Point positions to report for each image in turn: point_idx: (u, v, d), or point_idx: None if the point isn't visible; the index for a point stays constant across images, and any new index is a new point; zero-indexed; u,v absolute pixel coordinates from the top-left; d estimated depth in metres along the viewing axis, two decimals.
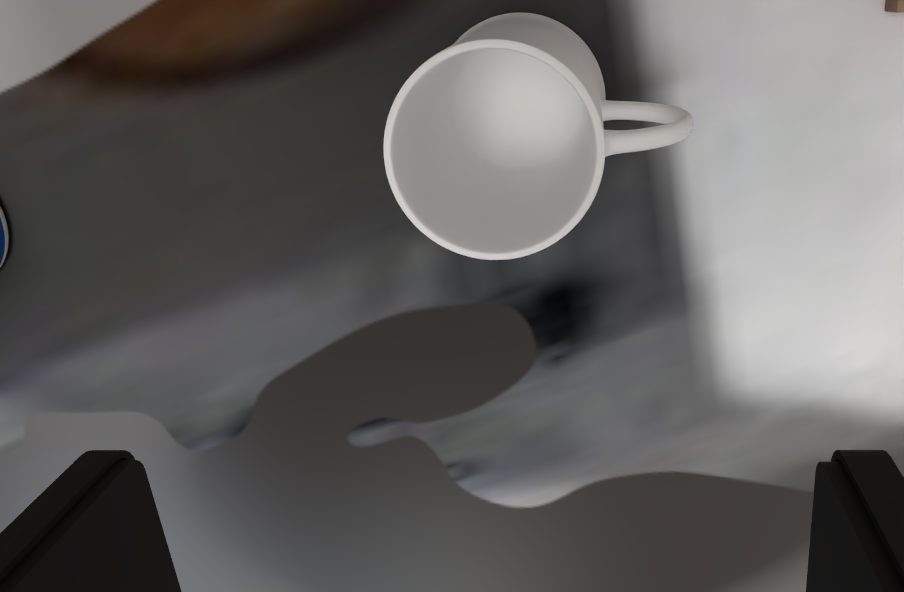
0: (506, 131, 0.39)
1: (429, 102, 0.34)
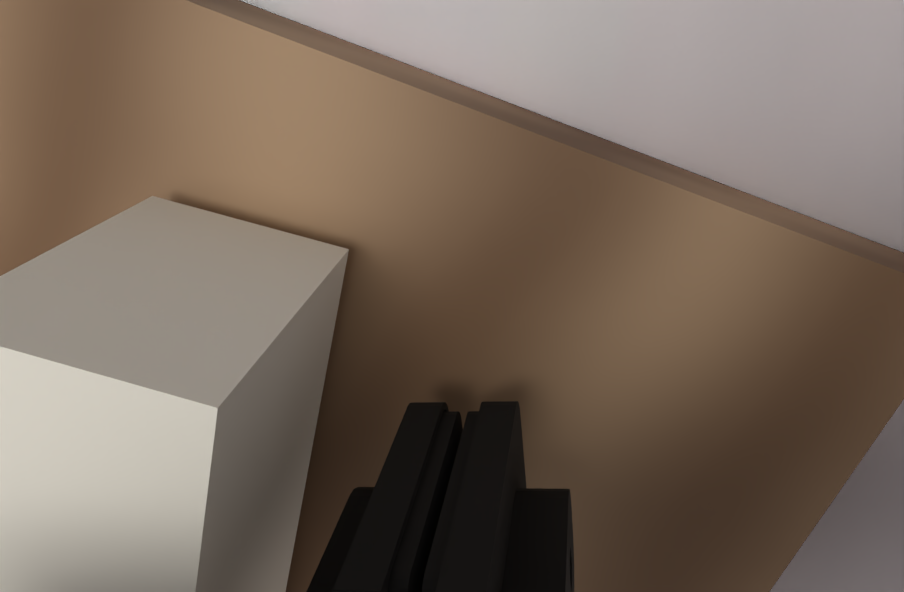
0: None
1: None
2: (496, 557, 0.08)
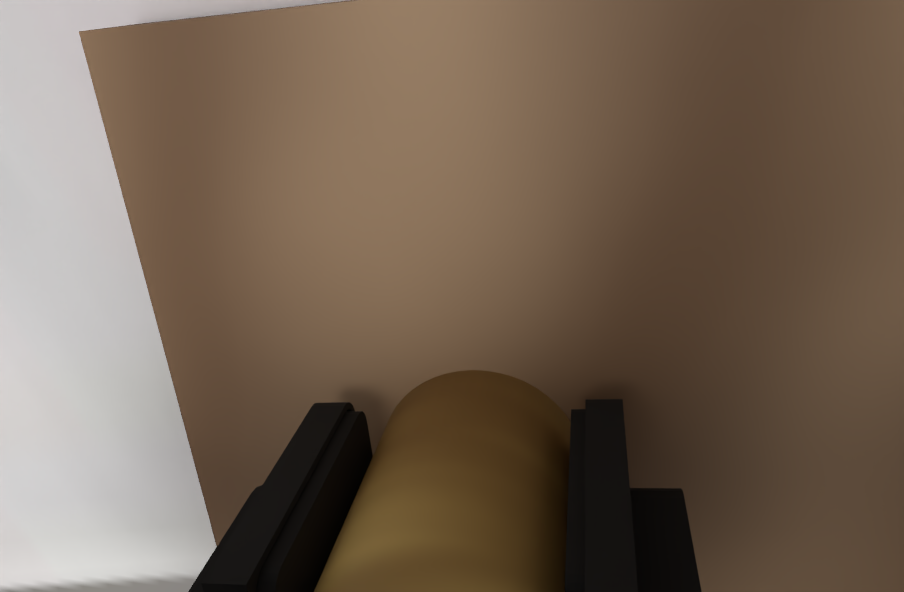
0: None
1: None
2: None
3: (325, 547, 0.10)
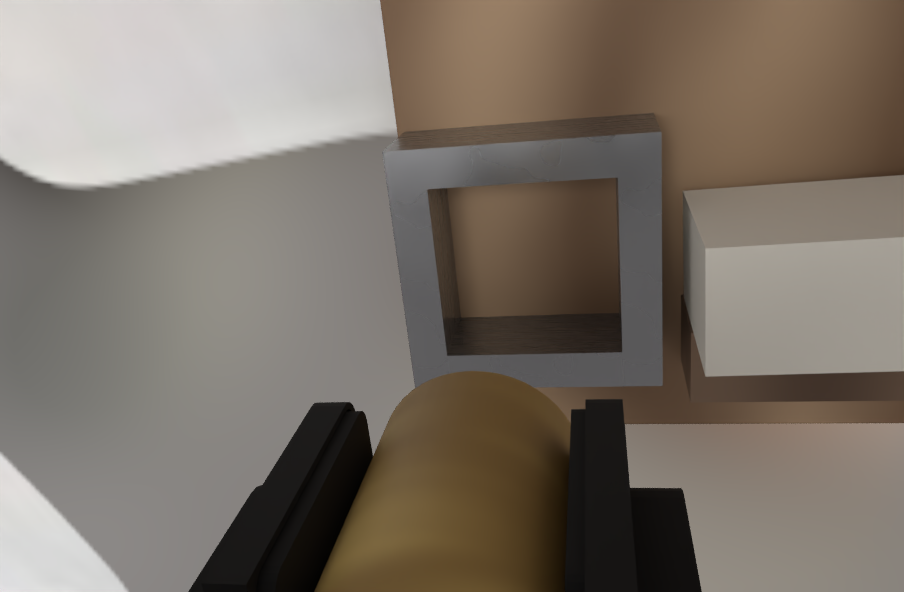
0: None
1: None
2: None
3: (325, 547, 0.10)
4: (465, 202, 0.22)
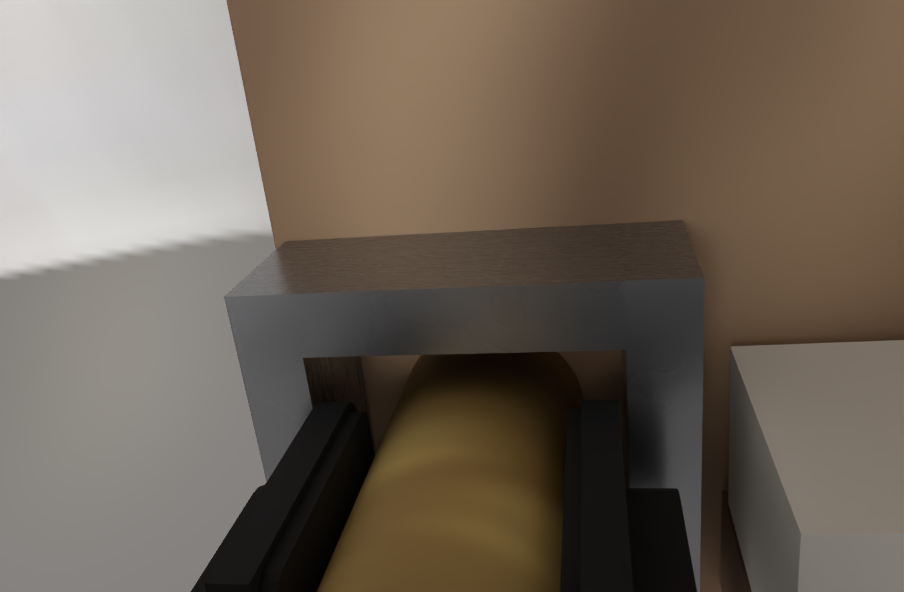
0: None
1: None
2: None
3: (327, 547, 0.10)
4: None
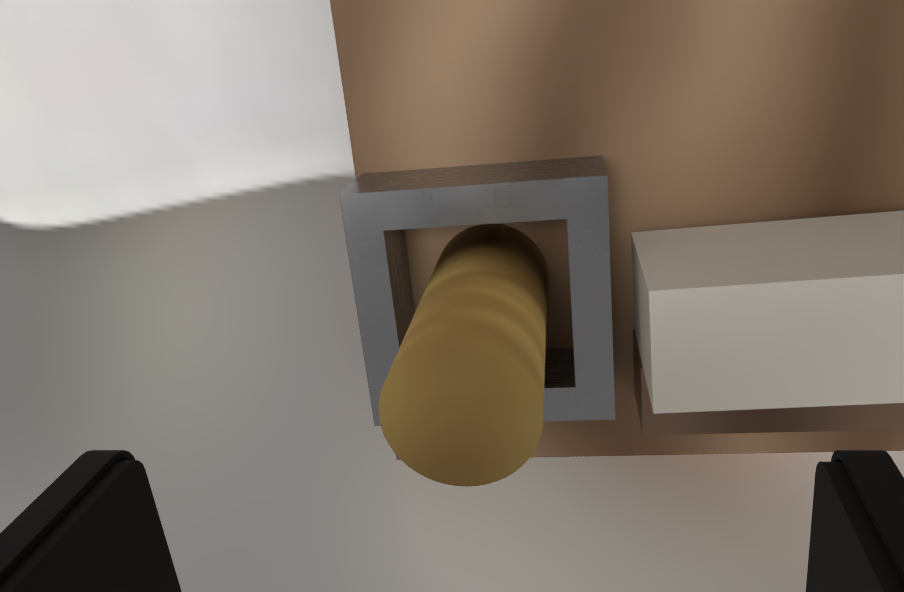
0: None
1: None
2: None
3: None
4: (422, 242, 0.22)
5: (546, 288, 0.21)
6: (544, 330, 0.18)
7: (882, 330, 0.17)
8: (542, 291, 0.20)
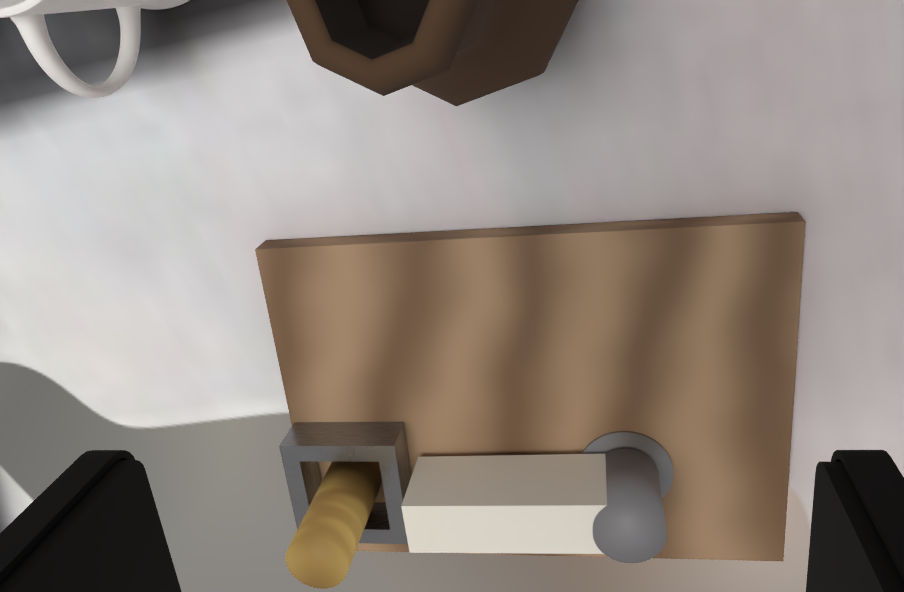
0: None
1: None
2: None
3: None
4: None
5: (377, 483, 0.45)
6: (364, 515, 0.42)
7: (494, 525, 0.40)
8: (370, 490, 0.43)
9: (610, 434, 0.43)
